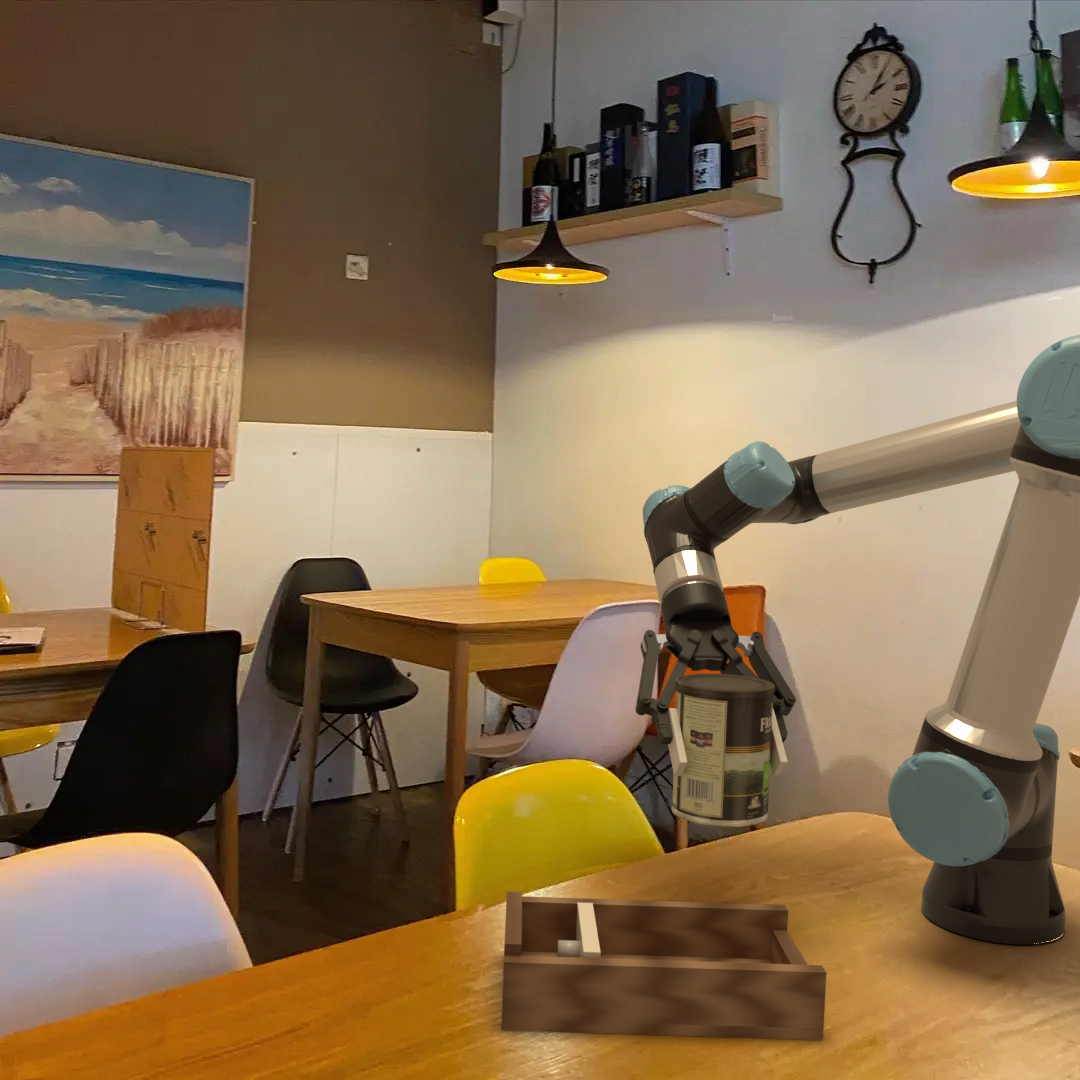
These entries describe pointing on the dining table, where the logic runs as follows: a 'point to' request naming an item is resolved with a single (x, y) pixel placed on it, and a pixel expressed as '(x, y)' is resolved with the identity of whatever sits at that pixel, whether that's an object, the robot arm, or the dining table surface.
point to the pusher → (582, 936)
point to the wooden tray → (660, 971)
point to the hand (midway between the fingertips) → (730, 768)
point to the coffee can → (724, 749)
